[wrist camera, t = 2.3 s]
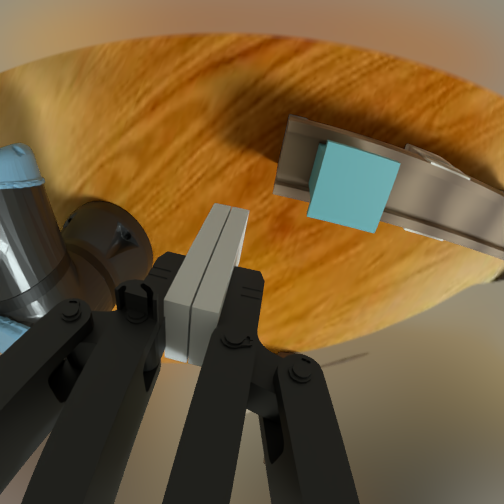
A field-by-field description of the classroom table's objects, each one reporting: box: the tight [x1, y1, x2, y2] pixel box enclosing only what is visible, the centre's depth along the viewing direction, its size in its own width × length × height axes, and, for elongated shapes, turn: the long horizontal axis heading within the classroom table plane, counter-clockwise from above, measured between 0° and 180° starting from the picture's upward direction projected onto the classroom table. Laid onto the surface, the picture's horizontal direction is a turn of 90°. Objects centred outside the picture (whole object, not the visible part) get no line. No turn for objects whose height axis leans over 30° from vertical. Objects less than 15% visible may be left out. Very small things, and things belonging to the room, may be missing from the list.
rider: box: [307, 140, 400, 233], centre depth 25 cm, size 6×6×5 cm
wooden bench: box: [273, 114, 504, 260], centre depth 30 cm, size 32×7×8 cm, turn 79°
